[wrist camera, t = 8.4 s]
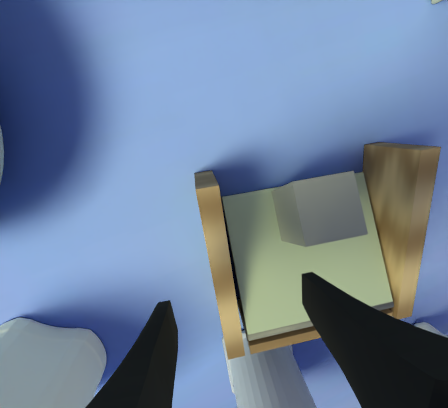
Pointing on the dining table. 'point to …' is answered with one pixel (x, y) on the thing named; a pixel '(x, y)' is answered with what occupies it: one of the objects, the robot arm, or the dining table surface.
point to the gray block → (319, 210)
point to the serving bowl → (1, 154)
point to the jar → (48, 365)
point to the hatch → (297, 264)
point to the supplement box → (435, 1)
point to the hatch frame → (385, 225)
